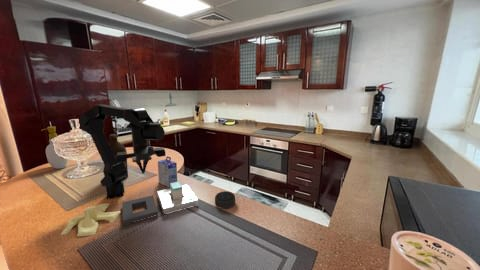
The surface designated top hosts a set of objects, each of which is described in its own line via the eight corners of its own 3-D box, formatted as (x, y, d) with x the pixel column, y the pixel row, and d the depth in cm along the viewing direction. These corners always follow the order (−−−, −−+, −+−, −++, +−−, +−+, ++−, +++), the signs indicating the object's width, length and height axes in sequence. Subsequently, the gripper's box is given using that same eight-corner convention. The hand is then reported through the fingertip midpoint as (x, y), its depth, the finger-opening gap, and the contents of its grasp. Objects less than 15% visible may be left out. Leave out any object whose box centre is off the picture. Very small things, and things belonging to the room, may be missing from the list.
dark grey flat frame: (123, 225, 72) (122, 220, 72) (122, 206, 84) (122, 202, 83) (158, 215, 78) (157, 211, 78) (153, 199, 90) (153, 195, 89)
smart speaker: (222, 196, 93) (222, 188, 92) (238, 202, 89) (238, 194, 88) (210, 205, 86) (210, 197, 85) (227, 212, 81) (227, 203, 80)
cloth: (101, 202, 88) (99, 189, 86) (132, 211, 81) (130, 198, 80) (36, 236, 67) (32, 220, 66) (71, 252, 61) (67, 234, 60)
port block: (163, 215, 78) (163, 207, 77) (157, 197, 92) (157, 190, 91) (198, 205, 85) (197, 198, 84) (187, 190, 99) (187, 183, 98)
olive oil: (105, 177, 111) (99, 134, 105) (126, 172, 118) (121, 131, 113) (109, 184, 103) (103, 138, 98) (131, 178, 111) (126, 135, 105)
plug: (173, 206, 85) (172, 189, 83) (171, 199, 90) (170, 183, 88) (183, 203, 87) (182, 186, 85) (180, 197, 92) (179, 181, 90)
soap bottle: (43, 168, 123) (34, 127, 118) (60, 163, 131) (52, 124, 126) (56, 171, 118) (47, 129, 112) (73, 166, 126) (66, 126, 120)
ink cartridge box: (178, 184, 104) (176, 158, 101) (169, 188, 100) (167, 161, 97) (167, 179, 110) (165, 154, 107) (158, 182, 106) (156, 157, 103)
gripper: (113, 145, 72) (118, 185, 75) (166, 140, 81) (169, 175, 84) (114, 139, 81) (118, 174, 84) (162, 134, 90) (164, 167, 94)
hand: (143, 173), depth 86 cm, fingers closed
